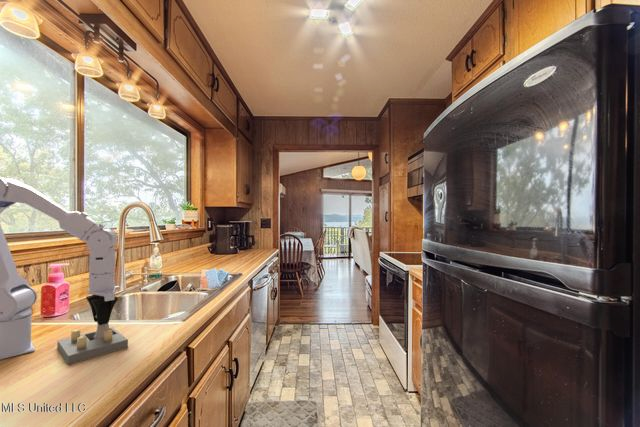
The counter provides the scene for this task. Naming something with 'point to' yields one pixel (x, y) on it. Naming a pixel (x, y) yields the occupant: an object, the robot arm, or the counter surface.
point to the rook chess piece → (101, 330)
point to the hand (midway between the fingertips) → (101, 322)
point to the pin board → (90, 345)
